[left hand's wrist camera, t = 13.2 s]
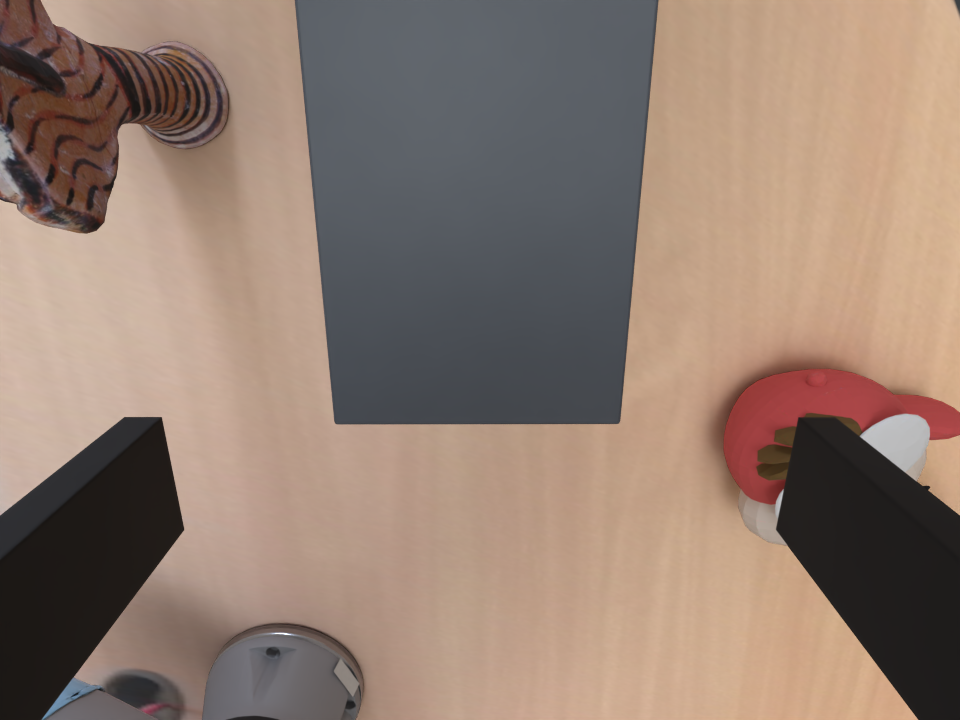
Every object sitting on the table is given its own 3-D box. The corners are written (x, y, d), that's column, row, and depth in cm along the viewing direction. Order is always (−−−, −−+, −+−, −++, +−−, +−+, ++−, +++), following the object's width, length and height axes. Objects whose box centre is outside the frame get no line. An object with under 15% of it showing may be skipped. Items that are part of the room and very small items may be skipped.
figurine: (72, 13, 41) (-817, -253, 13) (165, -45, 40) (-588, -476, 12) (198, 213, 46) (-253, 339, 18) (285, 167, 44) (-49, 221, 16)
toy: (864, 710, 53) (732, 483, 41) (792, 619, 62) (668, 413, 50) (1060, 601, 51) (982, 329, 39) (956, 524, 60) (868, 286, 48)
